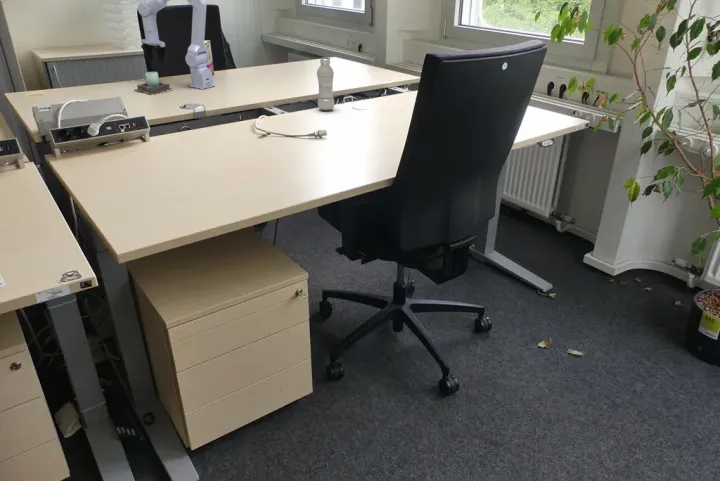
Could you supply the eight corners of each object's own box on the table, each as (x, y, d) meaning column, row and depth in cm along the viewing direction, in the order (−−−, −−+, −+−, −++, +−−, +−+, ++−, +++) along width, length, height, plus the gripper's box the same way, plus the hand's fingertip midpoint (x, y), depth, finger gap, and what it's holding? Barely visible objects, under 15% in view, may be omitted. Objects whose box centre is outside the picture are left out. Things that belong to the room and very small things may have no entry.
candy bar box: (204, 74, 274) (200, 40, 266) (214, 74, 274) (210, 40, 266) (198, 79, 264) (194, 43, 257) (208, 79, 264) (204, 43, 257)
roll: (162, 88, 243) (160, 72, 240) (153, 91, 239) (150, 74, 236) (154, 87, 246) (151, 71, 242) (145, 89, 242) (142, 73, 238)
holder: (173, 90, 244) (172, 84, 243) (151, 95, 235) (150, 89, 234) (156, 86, 250) (155, 80, 249) (134, 91, 241) (133, 85, 240)
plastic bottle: (332, 112, 215) (331, 60, 205) (315, 111, 216) (314, 59, 206) (336, 108, 220) (335, 57, 211) (320, 107, 221) (318, 56, 212)
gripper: (133, 30, 247) (138, 61, 253) (153, 33, 240) (158, 64, 246) (146, 28, 252) (151, 58, 258) (166, 31, 245) (171, 62, 251)
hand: (155, 61), depth 253 cm, fingers open, 7 cm apart
